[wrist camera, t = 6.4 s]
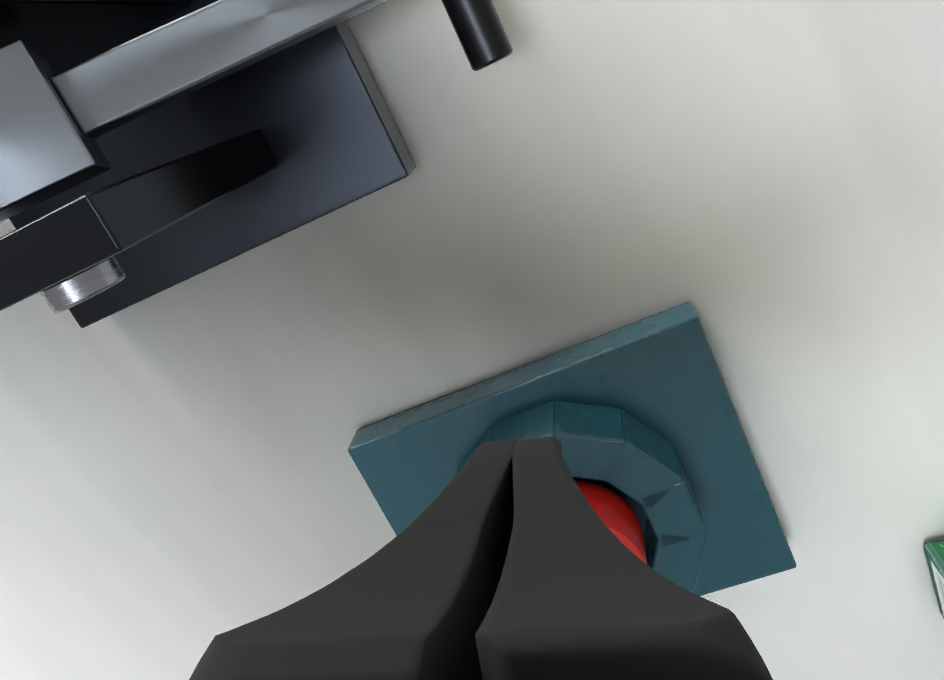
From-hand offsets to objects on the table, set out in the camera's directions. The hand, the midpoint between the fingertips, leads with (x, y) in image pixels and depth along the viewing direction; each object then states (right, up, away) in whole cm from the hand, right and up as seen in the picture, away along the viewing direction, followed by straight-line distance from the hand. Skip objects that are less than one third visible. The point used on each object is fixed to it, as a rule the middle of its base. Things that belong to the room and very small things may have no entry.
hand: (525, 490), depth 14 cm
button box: (+2, -2, +10) cm, 10 cm away
